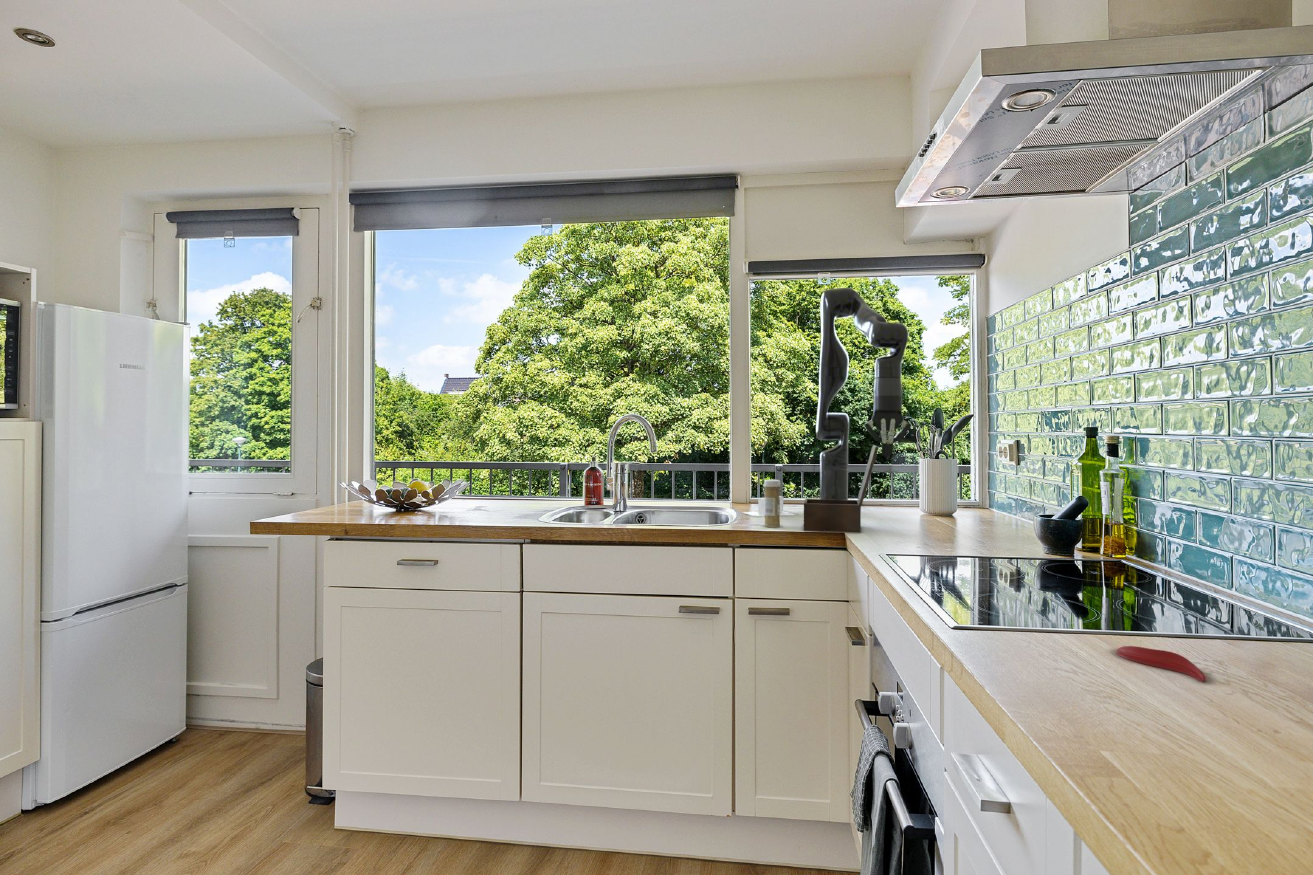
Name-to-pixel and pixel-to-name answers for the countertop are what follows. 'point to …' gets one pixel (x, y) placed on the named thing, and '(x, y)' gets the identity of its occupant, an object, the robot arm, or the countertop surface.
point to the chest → (832, 515)
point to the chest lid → (867, 473)
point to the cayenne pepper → (1161, 660)
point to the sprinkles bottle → (772, 503)
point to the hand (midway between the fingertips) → (887, 457)
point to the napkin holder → (762, 508)
